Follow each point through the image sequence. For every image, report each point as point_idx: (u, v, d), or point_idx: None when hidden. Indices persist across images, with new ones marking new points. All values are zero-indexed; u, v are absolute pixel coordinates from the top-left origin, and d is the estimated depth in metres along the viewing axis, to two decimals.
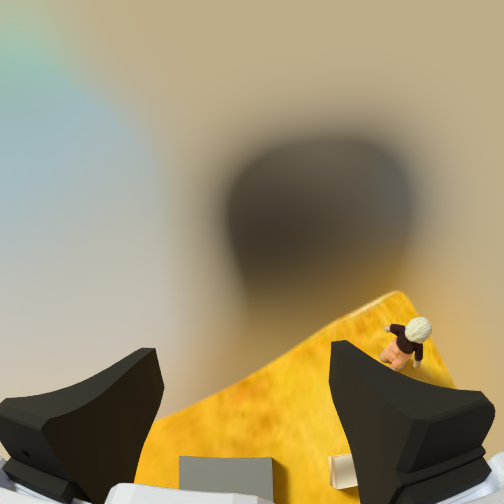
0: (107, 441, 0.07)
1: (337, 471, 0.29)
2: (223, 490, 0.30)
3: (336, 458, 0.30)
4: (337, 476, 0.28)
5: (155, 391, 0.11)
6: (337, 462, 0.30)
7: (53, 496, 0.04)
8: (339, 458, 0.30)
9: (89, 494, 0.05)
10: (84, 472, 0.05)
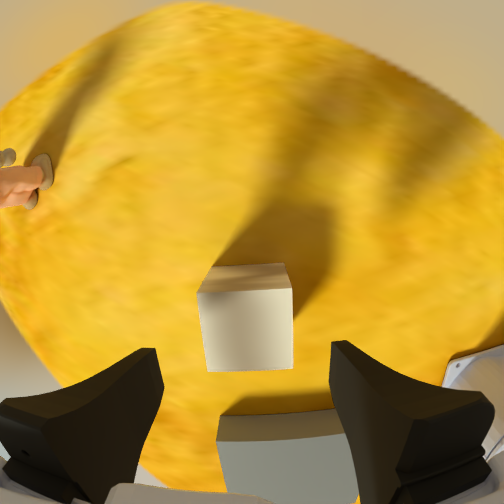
0: (107, 441, 0.07)
1: (244, 368, 0.15)
2: (280, 484, 0.20)
3: (210, 369, 0.15)
4: (258, 368, 0.15)
5: (155, 391, 0.11)
6: (221, 367, 0.15)
7: (53, 496, 0.04)
8: (210, 364, 0.15)
9: (89, 494, 0.05)
10: (84, 472, 0.05)
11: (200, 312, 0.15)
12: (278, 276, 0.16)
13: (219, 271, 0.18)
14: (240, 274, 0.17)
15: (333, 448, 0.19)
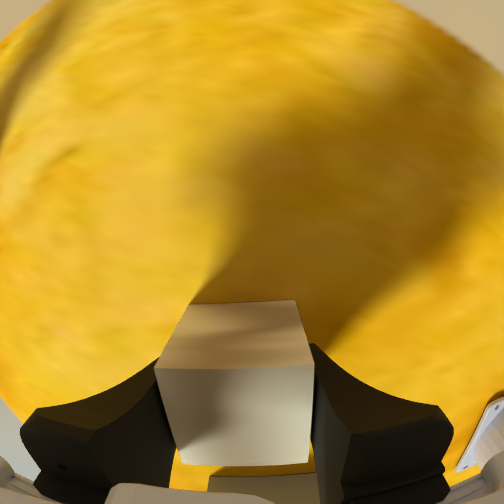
0: (147, 448, 0.07)
1: (236, 463, 0.09)
2: None
3: (186, 461, 0.09)
4: (256, 463, 0.09)
5: None
6: (201, 460, 0.09)
7: (53, 496, 0.04)
8: (185, 457, 0.09)
9: None
10: (128, 483, 0.05)
11: (163, 395, 0.08)
12: (288, 333, 0.10)
13: (197, 316, 0.12)
14: (228, 324, 0.11)
15: None
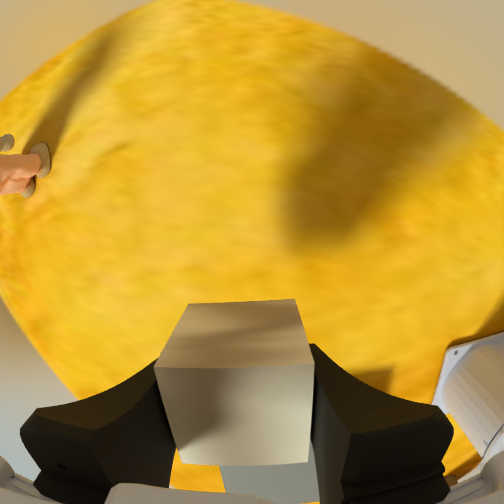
0: (147, 448, 0.07)
1: (236, 463, 0.09)
2: (277, 475, 0.20)
3: (186, 461, 0.09)
4: (256, 462, 0.09)
5: None
6: (201, 460, 0.09)
7: (53, 496, 0.04)
8: (185, 456, 0.09)
9: None
10: (128, 483, 0.05)
11: (162, 394, 0.08)
12: (288, 332, 0.10)
13: (197, 316, 0.12)
14: (228, 323, 0.11)
15: None
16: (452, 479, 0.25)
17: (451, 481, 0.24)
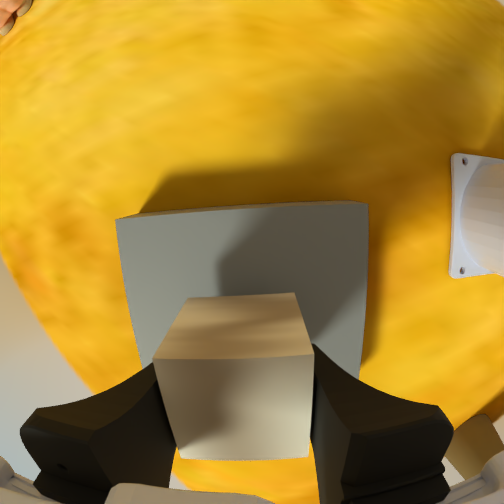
0: (146, 448, 0.07)
1: (235, 458, 0.09)
2: None
3: (185, 456, 0.09)
4: (255, 457, 0.09)
5: None
6: (200, 454, 0.09)
7: (53, 496, 0.04)
8: (184, 451, 0.09)
9: None
10: (127, 483, 0.05)
11: (161, 386, 0.08)
12: (287, 324, 0.10)
13: (197, 309, 0.12)
14: (227, 316, 0.11)
15: (297, 244, 0.14)
16: (486, 419, 0.19)
17: (485, 421, 0.19)
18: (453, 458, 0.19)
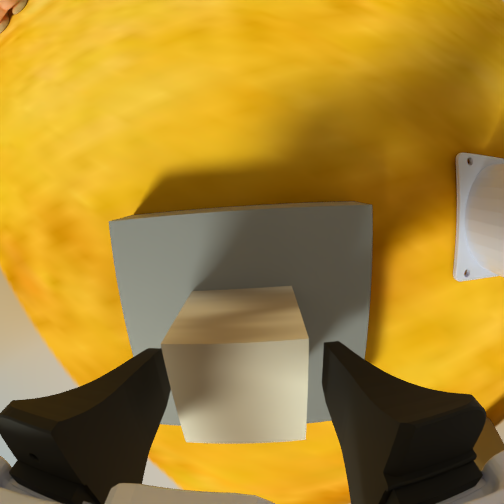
0: (116, 443, 0.07)
1: (237, 440, 0.10)
2: None
3: (189, 439, 0.10)
4: (256, 440, 0.10)
5: (162, 391, 0.11)
6: (204, 438, 0.10)
7: (53, 496, 0.04)
8: (189, 434, 0.10)
9: (99, 497, 0.05)
10: (94, 475, 0.05)
11: (168, 371, 0.09)
12: (285, 313, 0.11)
13: (200, 301, 0.12)
14: (229, 307, 0.12)
15: (298, 247, 0.13)
16: (488, 422, 0.19)
17: (488, 425, 0.18)
18: None
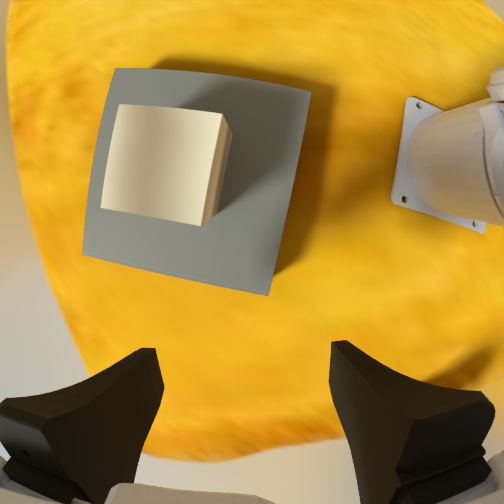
0: (107, 441, 0.07)
1: (142, 211, 0.12)
2: None
3: (104, 205, 0.12)
4: (158, 215, 0.12)
5: (155, 391, 0.11)
6: (116, 205, 0.12)
7: (53, 496, 0.04)
8: (106, 197, 0.12)
9: (89, 494, 0.05)
10: (84, 472, 0.05)
11: (115, 126, 0.11)
12: None
13: None
14: None
15: (245, 106, 0.16)
16: None
17: None
18: None
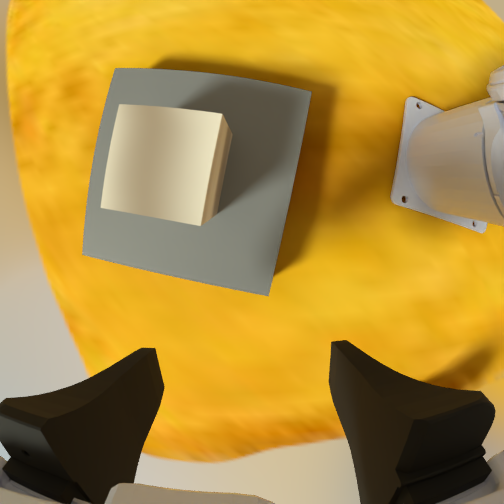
0: (107, 441, 0.07)
1: (142, 211, 0.12)
2: None
3: (104, 205, 0.12)
4: (158, 215, 0.12)
5: (155, 391, 0.11)
6: (116, 205, 0.12)
7: (53, 496, 0.04)
8: (106, 197, 0.12)
9: (89, 494, 0.05)
10: (84, 472, 0.05)
11: (115, 126, 0.11)
12: None
13: None
14: None
15: (245, 106, 0.16)
16: None
17: None
18: None
